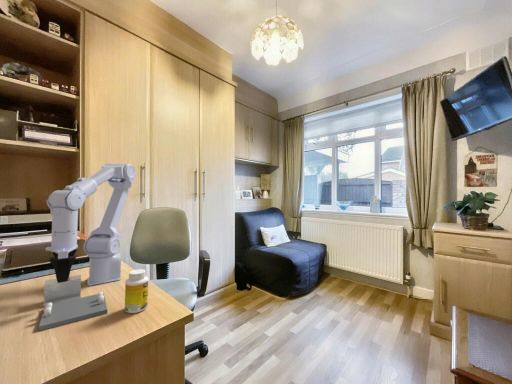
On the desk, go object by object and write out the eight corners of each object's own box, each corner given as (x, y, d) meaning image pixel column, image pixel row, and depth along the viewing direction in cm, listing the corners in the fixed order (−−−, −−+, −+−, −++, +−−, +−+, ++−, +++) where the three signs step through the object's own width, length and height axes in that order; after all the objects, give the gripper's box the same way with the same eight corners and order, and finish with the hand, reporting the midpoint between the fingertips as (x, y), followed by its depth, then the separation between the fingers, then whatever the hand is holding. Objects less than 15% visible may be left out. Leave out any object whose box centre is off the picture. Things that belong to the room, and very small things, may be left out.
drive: (80, 294, 69) (80, 274, 70) (80, 299, 66) (81, 278, 66) (45, 301, 64) (45, 280, 65) (43, 307, 61) (44, 285, 61)
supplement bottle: (145, 313, 59) (146, 274, 59) (121, 315, 58) (122, 275, 58) (149, 302, 65) (150, 267, 65) (128, 305, 63) (129, 268, 63)
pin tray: (103, 296, 68) (103, 286, 68) (107, 313, 59) (107, 301, 59) (45, 309, 60) (45, 297, 60) (38, 331, 51) (39, 317, 51)
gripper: (49, 228, 69) (47, 273, 69) (43, 236, 57) (41, 289, 57) (78, 227, 73) (76, 268, 73) (78, 233, 62) (76, 283, 62)
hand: (63, 277), depth 65 cm, fingers open, 7 cm apart
